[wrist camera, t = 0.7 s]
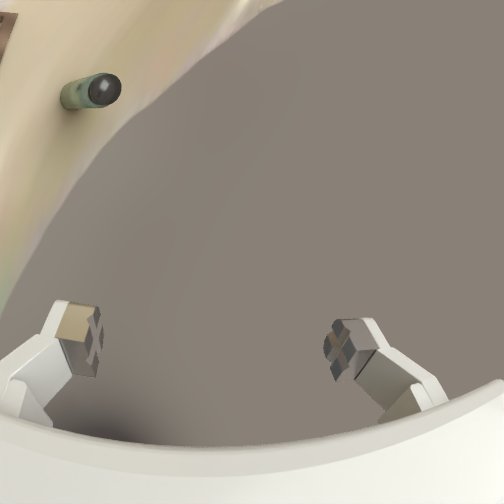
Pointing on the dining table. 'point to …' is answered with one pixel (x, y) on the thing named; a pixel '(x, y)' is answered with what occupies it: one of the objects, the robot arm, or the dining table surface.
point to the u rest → (5, 29)
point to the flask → (91, 92)
